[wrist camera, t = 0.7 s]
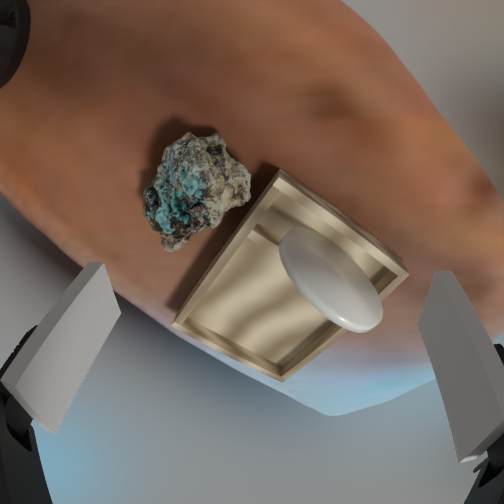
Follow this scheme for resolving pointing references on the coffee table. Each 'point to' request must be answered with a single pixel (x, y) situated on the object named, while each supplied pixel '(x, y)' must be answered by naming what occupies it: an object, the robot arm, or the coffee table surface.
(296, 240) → the standing plate
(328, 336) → the wooden tray
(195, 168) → the mineral specimen
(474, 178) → the coffee table surface
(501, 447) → the robot arm
